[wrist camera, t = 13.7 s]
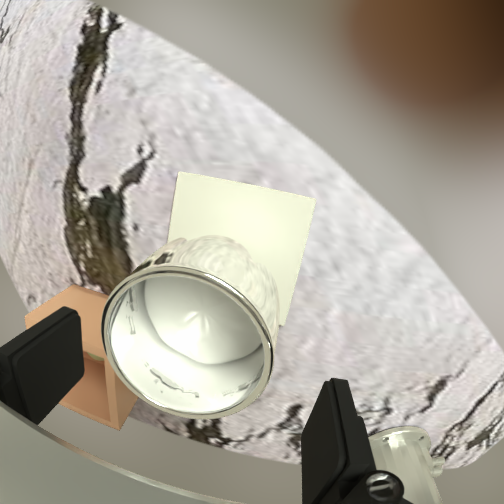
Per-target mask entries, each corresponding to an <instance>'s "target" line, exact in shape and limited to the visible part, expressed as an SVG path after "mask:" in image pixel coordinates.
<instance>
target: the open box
mask: <svg viewBox="0 0 504 504" xmlns="http://www.w3.org/2000/svg"><path fill="white" fill-rule="evenodd" d="M108 297H109V295H106V294H102V293H99V292H96V291H93V290H90V289H87V288H84V287H81V286H77V285H74V284H73V285H72V286H70V287H68V288H67V289H65V290H64V291H62V292H61V293H59V294H58V295H56V296H54V297H53V298H51V299H50V300H48V301H47V302H45V303H44V304H42V305H41V306H39V307H38V308H36V309H35V310H33V311H32V312H30V313H29V314H27V315H26V316H25V323H26V329H29V328H30V327H32V326H33V325H35V324H36V323H38V322H39V321H41V320H42V319H44V318H45V317H47V316H49V315H50V314H52V313H53V312H55V311H56V310H58V309H60V308H61V307H63V306H66V307H69V308H71V309H74V310H76V311H77V312H78V315H79V316H80V317H81V329H82V345H83V357H84V368H85V372H84V375H83V377H82V379H81V380H80V381H79V382H78V383H77V384H76V385H75V386H74V387H73V388H72V389H71V390H70V391H69V392H68V393H67V394H66V395H65V396H64V398H63V399H62V400H61V401H60V402H59V403H58V404H60V405H62V406H64V407H67V408H69V409H70V410H73V411H75V412H77V413H79V414H81V415H83V416H86V417H88V418H90V419H92V420H95V421H97V422H100V423H102V424H105V425H107V426H109V427H112V428H114V429H117V430H120V429H121V427H122V426H123V424H124V422H125V420H126V419H127V417H128V415H129V413H130V412H131V410H132V408H133V406H134V405H135V403H136V401H137V399H138V398H139V397H138V396H136V395H135V394H134V393H133V392H132V391H131V390H130V389H129V388H128V387H127V386H126V385H125V384H124V383H123V382H122V381H121V380H120V378H119V377H118V376H117V374H116V373H115V371H114V370H113V368H112V367H111V365H110V363H109V361H108V359H107V356H106V354H105V351H104V347H103V343H102V338H101V318H102V313H103V309H104V306H105V303H106V301H107V299H108ZM87 352H89V353H91V354H94V355H96V356H99V357H102V358H104V361H98V360H95V359H93V358H92V357H91V356H90V355H89V354H88V353H87Z"/></svg>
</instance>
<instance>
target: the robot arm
mask: <svg viewBox="0 0 504 504" xmlns="http://www.w3.org/2000/svg"><path fill="white" fill-rule="evenodd" d="M84 372H85V368H84V357H83V345H82V329H81V317H80V316H79V315H78V312H77V311H76V310H74V309H71V308H69V307H66V306H63V307H61V308H60V309H58V310H56V311H55V312H53V313H52V314H50V315H49V316H47V317H45V318H44V319H42V320H41V321H39V322H38V323H36V324H35V325H33V326H32V327H30V328H29V329H27V330H26V331H24V332H23V333H21V334H20V335H18V336H17V337H15V338H14V339H12V340H11V341H9V342H8V343H6V344H5V345H3V346H2V347H0V504H245V503H240V502H235V501H229V500H225V499H220V498H215V497H211V496H207V495H203V494H199V493H195V492H191V491H188V490H184V489H181V488H177V487H174V486H170V485H168V484H164V483H161V482H158V481H155V480H152V479H149V478H147V477H144V476H141V475H138V474H136V473H133V472H131V471H128V470H125V469H123V468H120V467H118V466H116V465H113V464H111V463H109V462H106V461H104V460H102V459H100V458H97V457H95V456H93V455H91V454H89V453H87V452H85V451H83V450H80V449H79V448H77V447H75V446H73V445H71V444H69V443H67V442H66V441H64V440H62V439H60V438H58V437H56V436H54V435H53V434H51V433H49V432H48V431H46V430H44V429H43V428H41V427H39V426H38V424H39V423H40V422H41V421H42V420H43V419H44V418H45V417H46V416H47V415H48V414H49V413H50V411H51V410H52V409H53V408H54V407H55V406H56V405H57V404H58V403H59V402H60V401H61V400H62V399H63V398H64V396H65V395H66V394H67V393H68V392H69V391H70V390H71V389H72V388H73V387H74V386H75V385H76V384H77V383H78V382H79V381H80V380H81V379H82V377H83V375H84ZM430 447H431V440H430V437H429V435H428V433H427V432H426V431H425V430H424V429H421V428H419V427H414V426H403V427H396V428H392V429H388V430H385V431H382V432H379V433H376V434H374V435H372V436H370V437H368V434H367V431H366V427H365V423H364V420H363V418H362V417H361V416H357V413H356V409H355V405H354V402H353V398H352V394H351V391H350V387H349V384H348V381H347V380H344V379H337V378H331V379H330V381H325V382H324V384H323V386H322V389H321V391H320V394H319V396H318V398H317V401H316V403H315V405H314V407H313V410H312V412H311V414H310V416H309V419H308V421H307V423H306V425H305V427H304V430H303V432H302V436H301V455H302V504H443V503H442V500H441V497H440V495H439V492H438V489H437V487H436V484H435V481H434V479H433V478H434V477H439V476H440V475H441V474H442V470H443V469H442V465H443V464H444V462H445V459H444V457H435V458H432V457H431V456H430V454H429V450H430Z"/></svg>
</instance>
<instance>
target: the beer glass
mask: <svg viewBox="0 0 504 504" xmlns="http://www.w3.org/2000/svg"><path fill="white" fill-rule="evenodd" d="M272 257H273V248H272V243H271V240H270V238H269V236H268V234H267V232H266V231H265V230H264V228H263V227H262V226H261V225H260V224H259V223H257V222H256V221H255V220H253V219H251V218H249V217H246V216H243V215H235V214H232V215H225V216H221V217H219V218H217V219H215V220H213V221H212V222H210V223H209V224H208V225H207V226H206V227H205V228H204V230H199V231H195V232H191V233H187V234H185V235H182V236H180V237H178V238H176V239H174V240H172V241H170V242H169V243H167V244H165V245H164V246H162V247H161V248H159V249H158V250H157V251H155V252H154V253H153V254H152V255H150V256H149V257H148V258H147V259H146V260H145V261H144V262H142V263H141V264H140V265H139V266H138V267H137V268H136V269H135V270H134V271H133V272H132V273H131V274H130V275H129V276H128V277H127V278H126V279H124V280H123V281H122V282H121V283H120V284H118V285H117V287H116V288H115V289H114V290H113V291H112V293H111V294H110V296H109V297H108V299H107V301H106V303H105V306H104V309H103V313H102V318H101V338H102V343H103V347H104V351H105V354H106V356H107V359H108V361H109V363H110V365H111V367H112V368H113V370H114V371H115V373H116V374H117V376H118V377H119V378H120V380H121V381H122V382H123V383H124V384H125V385H126V386H127V387H128V388H129V389H130V390H131V391H132V392H133V393H134V394H135V395H136V396H138V397H139V398H140V399H142V400H143V401H145V402H146V403H148V404H150V405H151V406H153V407H155V408H157V409H159V410H161V411H164V412H166V413H169V414H172V415H175V416H179V417H184V418H190V419H215V418H221V417H225V416H229V415H232V414H234V413H237V412H239V411H241V410H243V409H244V408H246V407H248V406H249V405H250V404H252V403H253V402H254V401H255V400H256V399H257V398H258V397H259V396H260V395H261V394H262V393H263V391H264V390H265V388H266V386H267V385H268V383H269V380H270V378H271V375H272V371H273V366H274V353H275V348H276V343H277V337H278V330H279V318H280V302H279V292H278V285H277V282H276V278H275V276H274V273H273V270H272V268H271V262H272Z"/></svg>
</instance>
